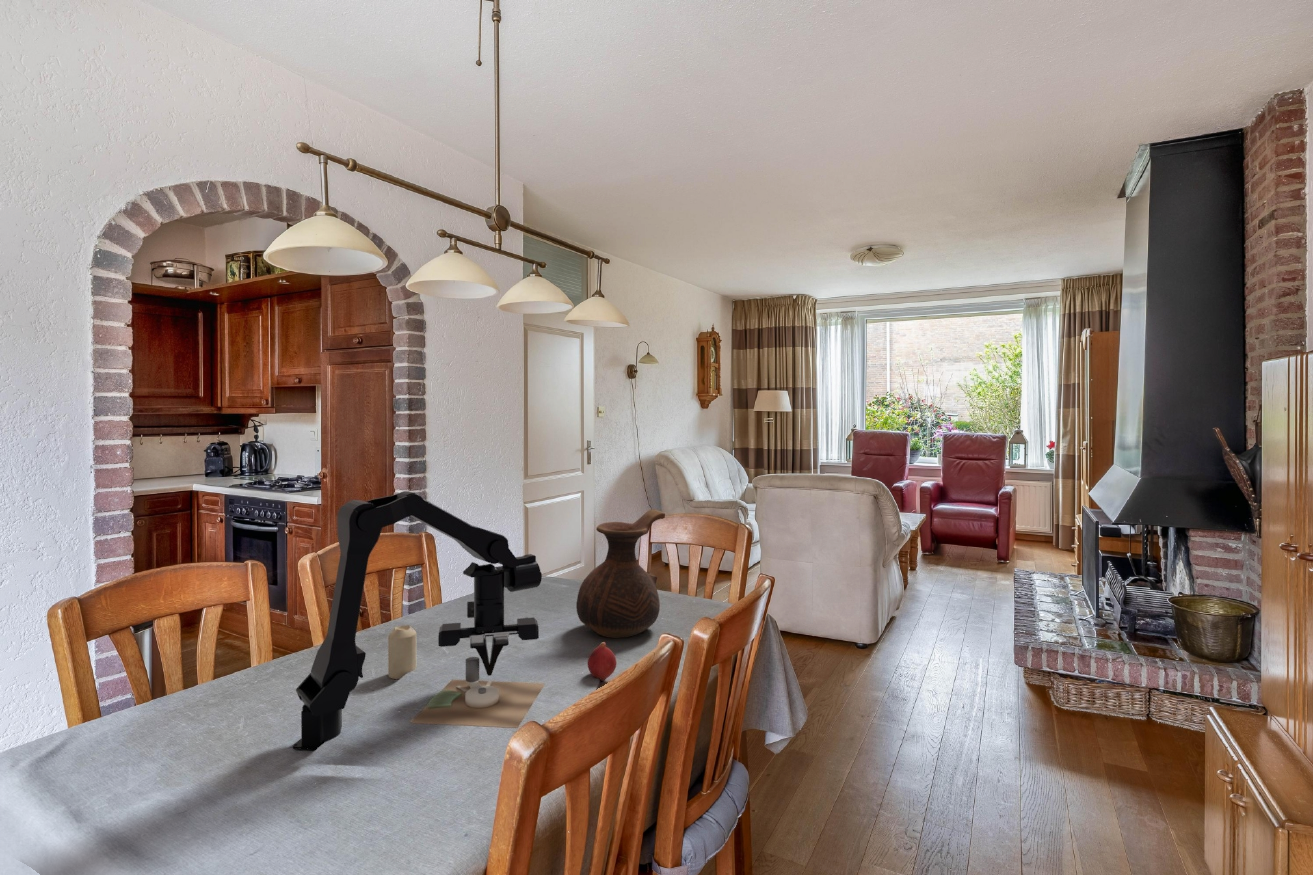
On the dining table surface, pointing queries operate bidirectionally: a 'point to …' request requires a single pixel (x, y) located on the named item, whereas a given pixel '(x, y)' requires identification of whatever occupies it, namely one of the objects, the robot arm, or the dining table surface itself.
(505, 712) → the dial board
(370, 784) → the dining table surface
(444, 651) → the dining table surface
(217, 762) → the dining table surface
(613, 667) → the onion
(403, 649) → the candle
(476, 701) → the needle
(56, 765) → the dining table surface
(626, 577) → the jug
